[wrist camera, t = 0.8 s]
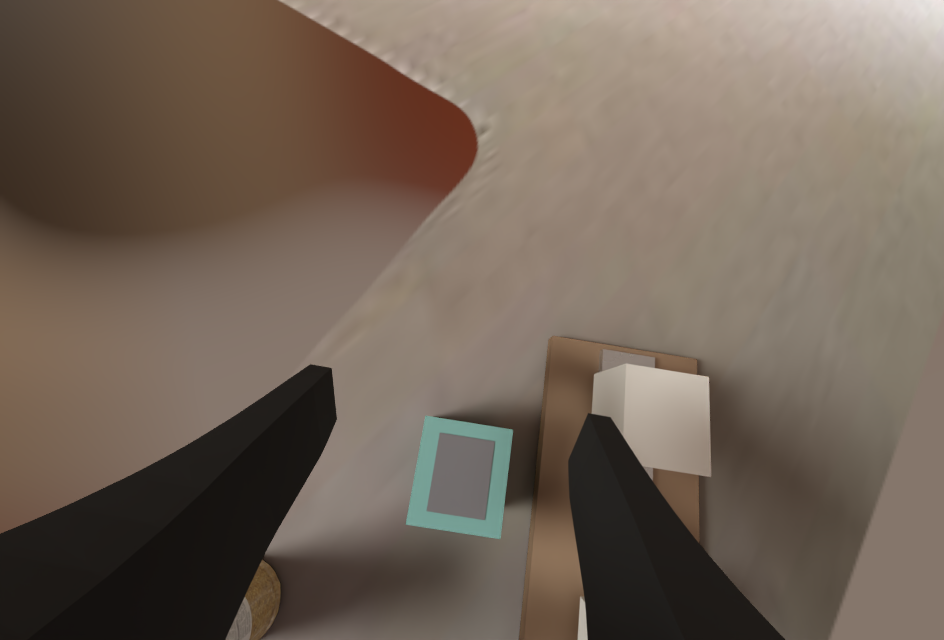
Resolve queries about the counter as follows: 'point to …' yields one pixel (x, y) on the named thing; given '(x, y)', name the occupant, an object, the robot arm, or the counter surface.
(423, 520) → the block
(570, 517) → the rail board
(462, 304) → the counter surface
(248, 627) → the sprinkles bottle
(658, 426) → the mounted modules
